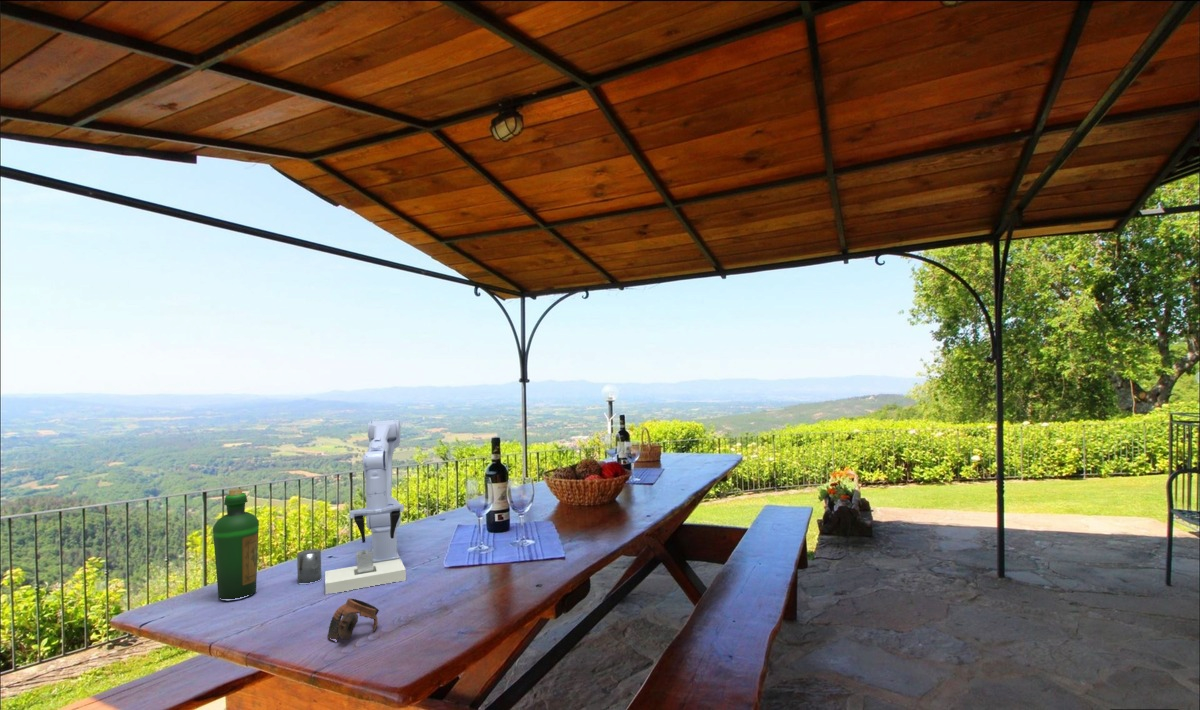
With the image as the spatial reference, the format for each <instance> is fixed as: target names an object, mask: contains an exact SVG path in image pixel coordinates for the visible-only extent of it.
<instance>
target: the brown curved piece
mask: <svg viewBox="0 0 1200 710" xmlns="http://www.w3.org/2000/svg"><path fill="white" fill-rule="evenodd" d="M379 612H380V609H379V608H377V607H376V606H374V605H372V604H370V603H367V602H365V601H362V600H358V599H356V598H347V600H346V603H344V604H342V605H341V606H339V607H338V608H337V609H336V611H335V612H334V613H333V615H332V618H331V620H330V624H329V626H328V632H327V638H328V637H329V638H331V639H336V640H337V639H338V640H339V637H340V638H341V639H342V640H347V639H351V638H352V635H353V632H354V629H355V627H356V625H357V623H358V621H359V617H364V618H369V619H370V620H373V626H372V631H373V632H375V631H376V630H377V626H378V616H377V615H378V613H379ZM358 614H359V615H358ZM375 629H376V630H375ZM374 630H375V631H374ZM329 638H328V639H329Z"/></svg>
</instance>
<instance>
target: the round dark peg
mask: <svg viewBox="0 0 1200 710" xmlns="http://www.w3.org/2000/svg"><path fill="white" fill-rule="evenodd" d="M296 559H297V560H296V561H297V562H296V565H297V571H296V573H297V584H298V583H310V582H315V581H318V580H320V579H321V578H322V549H319V548H312V549H311V548H310V549H306V550H302V551H299V552H298V553H296ZM321 580H322V579H321ZM321 580H320V581H321ZM318 582H319V581H318Z"/></svg>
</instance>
